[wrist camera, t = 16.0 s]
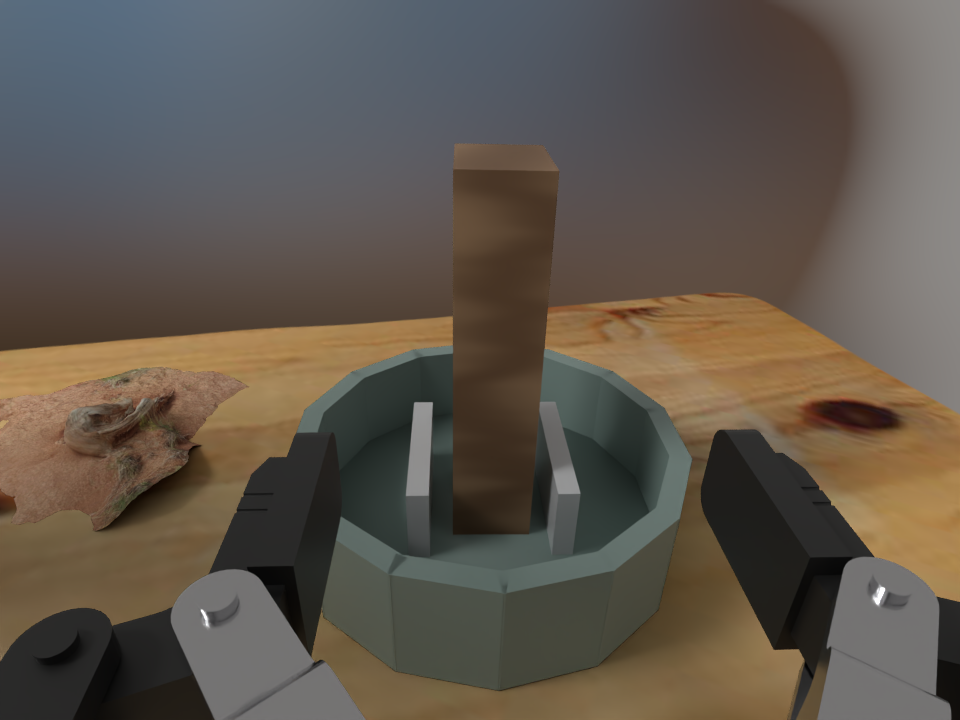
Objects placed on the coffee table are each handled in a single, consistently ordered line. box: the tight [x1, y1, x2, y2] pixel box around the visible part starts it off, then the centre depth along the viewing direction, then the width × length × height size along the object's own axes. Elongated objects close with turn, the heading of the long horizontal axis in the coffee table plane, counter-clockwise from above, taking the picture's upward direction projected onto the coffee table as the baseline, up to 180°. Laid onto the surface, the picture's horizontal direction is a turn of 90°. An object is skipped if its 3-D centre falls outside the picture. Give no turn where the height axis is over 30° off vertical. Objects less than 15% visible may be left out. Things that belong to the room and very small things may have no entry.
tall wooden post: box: [453, 144, 559, 535], centre depth 23 cm, size 3×4×14 cm
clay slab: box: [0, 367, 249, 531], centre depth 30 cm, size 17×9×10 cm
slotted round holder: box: [297, 346, 692, 691], centre depth 25 cm, size 15×15×4 cm
